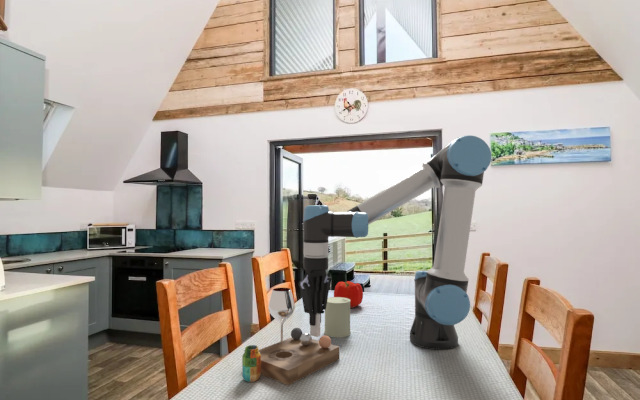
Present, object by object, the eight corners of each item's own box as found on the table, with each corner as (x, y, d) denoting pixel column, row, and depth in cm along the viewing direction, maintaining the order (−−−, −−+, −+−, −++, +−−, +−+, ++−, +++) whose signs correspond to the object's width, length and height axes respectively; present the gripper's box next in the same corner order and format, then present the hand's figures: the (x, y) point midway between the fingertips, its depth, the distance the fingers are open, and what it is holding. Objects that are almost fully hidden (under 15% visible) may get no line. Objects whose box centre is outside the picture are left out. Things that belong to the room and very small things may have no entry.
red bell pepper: (329, 303, 173) (329, 280, 174) (356, 301, 177) (356, 279, 178) (339, 311, 160) (339, 286, 161) (368, 308, 164) (368, 284, 165)
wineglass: (270, 353, 112) (270, 292, 113) (266, 344, 120) (267, 287, 121) (297, 350, 115) (297, 291, 115) (291, 341, 123) (292, 286, 123)
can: (348, 338, 126) (348, 302, 126) (321, 336, 128) (322, 301, 128) (352, 329, 135) (352, 296, 135) (326, 328, 137) (326, 295, 137)
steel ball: (314, 345, 109) (314, 333, 109) (306, 348, 107) (306, 336, 107) (305, 342, 112) (305, 330, 112) (297, 345, 109) (297, 333, 109)
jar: (261, 375, 98) (261, 344, 98) (259, 383, 93) (259, 350, 93) (243, 375, 98) (244, 344, 98) (240, 383, 93) (240, 350, 93)
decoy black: (304, 339, 114) (304, 327, 114) (297, 342, 112) (297, 330, 112) (296, 336, 117) (296, 325, 117) (288, 339, 114) (288, 328, 114)
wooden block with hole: (339, 359, 108) (339, 346, 108) (288, 385, 92) (288, 370, 92) (298, 346, 118) (298, 334, 118) (245, 368, 102) (246, 354, 102)
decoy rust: (333, 347, 107) (333, 335, 107) (326, 351, 105) (326, 338, 105) (324, 344, 110) (324, 332, 110) (316, 348, 107) (316, 335, 107)
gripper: (320, 253, 121) (319, 327, 120) (291, 257, 111) (291, 338, 110) (338, 255, 116) (338, 332, 115) (311, 259, 106) (310, 344, 105)
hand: (315, 335), depth 113 cm, fingers closed
